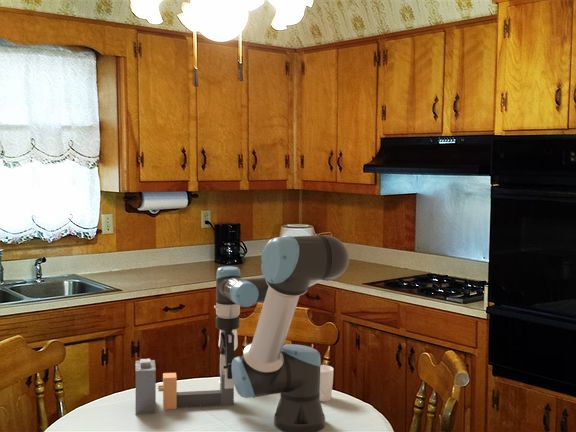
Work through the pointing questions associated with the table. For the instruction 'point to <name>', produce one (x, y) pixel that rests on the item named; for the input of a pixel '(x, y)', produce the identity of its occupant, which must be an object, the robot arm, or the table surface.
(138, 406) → the grey u-shaped bracket
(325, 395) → the white cup
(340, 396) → the table surface
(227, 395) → the grey orange-ended bar
